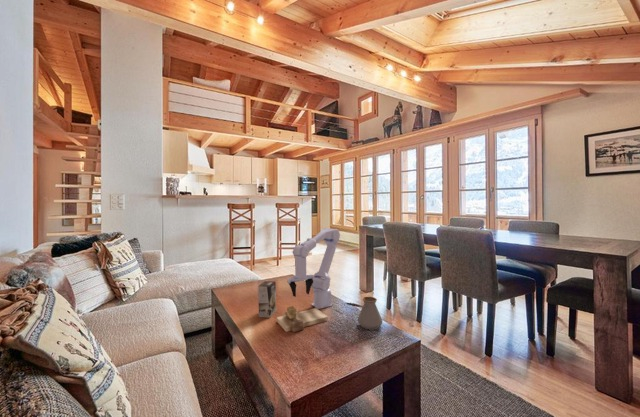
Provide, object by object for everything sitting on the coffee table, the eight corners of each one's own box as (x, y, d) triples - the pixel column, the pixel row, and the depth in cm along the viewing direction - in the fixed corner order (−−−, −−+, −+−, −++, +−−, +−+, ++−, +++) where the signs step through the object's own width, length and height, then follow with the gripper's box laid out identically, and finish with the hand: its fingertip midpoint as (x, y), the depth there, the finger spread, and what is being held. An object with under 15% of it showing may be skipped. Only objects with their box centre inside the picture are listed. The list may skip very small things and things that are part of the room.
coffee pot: (368, 318, 134) (368, 288, 134) (387, 326, 125) (387, 295, 125) (336, 332, 121) (336, 299, 120) (355, 342, 112) (355, 307, 111)
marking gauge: (291, 318, 135) (291, 303, 135) (303, 329, 123) (303, 312, 123) (282, 320, 132) (282, 305, 132) (293, 332, 121) (292, 315, 121)
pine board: (316, 311, 143) (316, 307, 143) (327, 320, 132) (327, 316, 132) (276, 321, 132) (276, 317, 132) (286, 331, 122) (286, 327, 122)
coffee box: (270, 318, 136) (269, 286, 136) (258, 317, 137) (257, 285, 137) (276, 310, 145) (276, 281, 144) (265, 309, 146) (264, 280, 146)
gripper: (290, 272, 132) (291, 299, 132) (316, 268, 139) (317, 294, 139) (285, 269, 138) (285, 295, 138) (310, 265, 145) (310, 290, 146)
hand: (301, 294), depth 139 cm, fingers open, 7 cm apart
